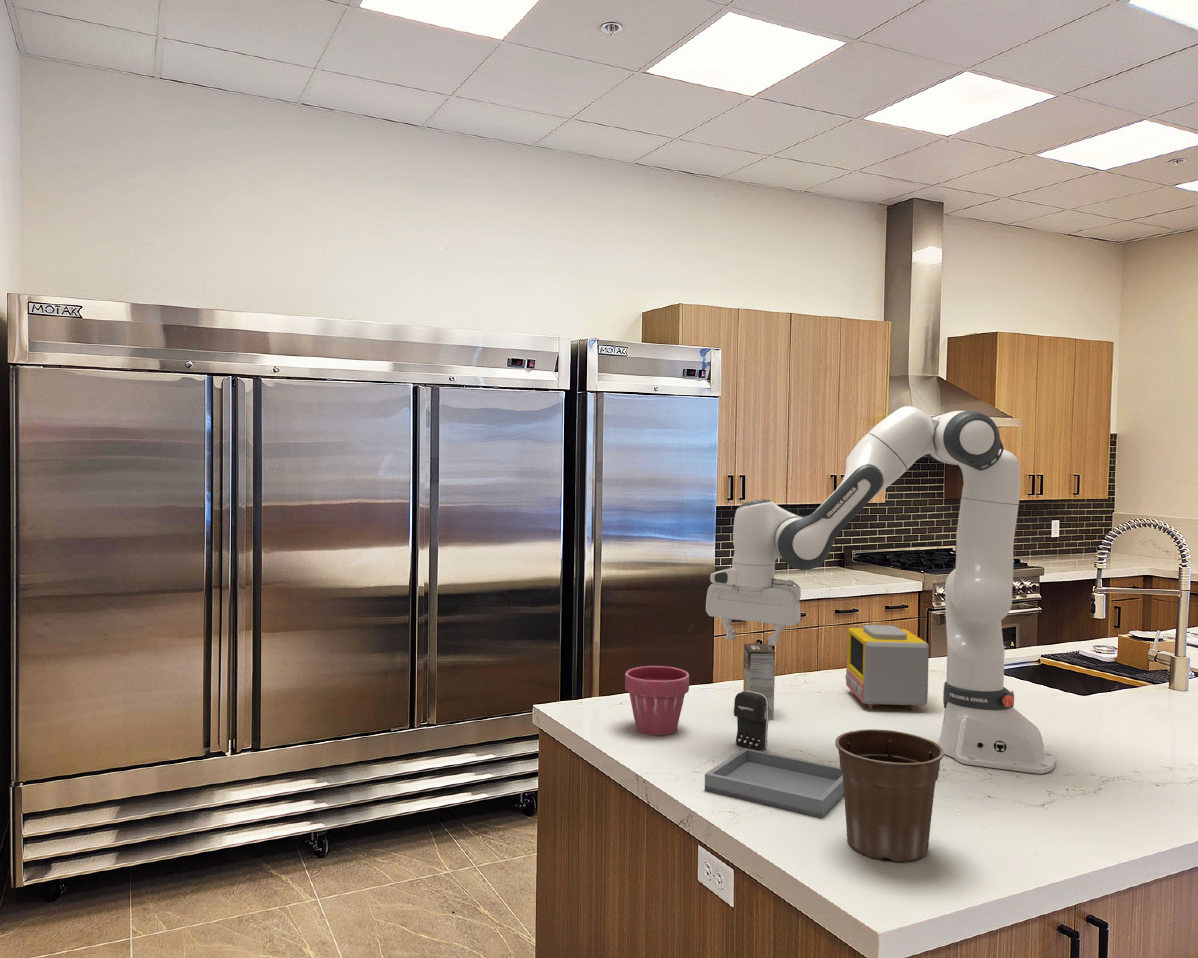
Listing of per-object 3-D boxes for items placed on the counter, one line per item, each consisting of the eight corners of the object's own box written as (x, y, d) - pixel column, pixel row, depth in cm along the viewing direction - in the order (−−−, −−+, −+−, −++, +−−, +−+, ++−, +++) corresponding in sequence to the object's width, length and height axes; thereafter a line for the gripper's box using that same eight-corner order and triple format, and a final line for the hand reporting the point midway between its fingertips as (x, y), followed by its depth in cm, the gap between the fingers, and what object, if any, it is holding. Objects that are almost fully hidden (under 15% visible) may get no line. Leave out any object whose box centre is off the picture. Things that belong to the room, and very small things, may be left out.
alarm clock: (843, 690, 235) (844, 621, 235) (904, 692, 234) (905, 622, 234) (862, 712, 215) (864, 636, 215) (928, 713, 215) (930, 637, 214)
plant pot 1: (616, 735, 194) (617, 676, 194) (633, 717, 208) (634, 663, 207) (681, 742, 190) (682, 682, 190) (693, 724, 203) (694, 668, 203)
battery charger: (730, 745, 189) (731, 691, 188) (740, 741, 192) (741, 688, 191) (759, 752, 184) (760, 697, 184) (768, 748, 187) (770, 694, 187)
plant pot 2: (898, 880, 129) (901, 769, 128) (811, 840, 142) (814, 740, 141) (962, 852, 138) (965, 749, 138) (875, 817, 151) (877, 723, 151)
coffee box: (742, 708, 217) (743, 642, 217) (768, 708, 217) (769, 643, 216) (747, 719, 208) (748, 650, 207) (775, 719, 208) (776, 651, 207)
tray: (853, 785, 166) (854, 769, 166) (822, 817, 151) (822, 800, 151) (744, 762, 178) (744, 747, 178) (704, 790, 163) (704, 773, 162)
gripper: (806, 579, 184) (804, 646, 184) (715, 571, 195) (714, 633, 195) (795, 582, 179) (793, 651, 179) (703, 573, 190) (701, 638, 190)
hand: (751, 642), depth 187 cm, fingers open, 8 cm apart
